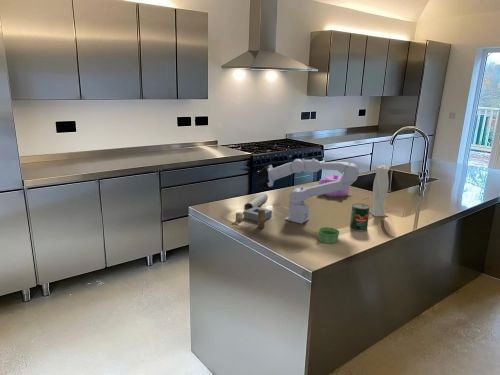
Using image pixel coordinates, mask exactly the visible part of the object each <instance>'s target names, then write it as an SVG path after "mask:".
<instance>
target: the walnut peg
mask: <svg viewBox="0 0 500 375" xmlns="http://www.w3.org/2000/svg"><path fill="white" fill-rule="evenodd" d="M265 223H266V220H265V210H258V222H257V228H258V229H265V227H266V226H265Z"/></svg>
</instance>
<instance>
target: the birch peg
mask: <svg viewBox="0 0 500 375" xmlns="http://www.w3.org/2000/svg"><path fill="white" fill-rule="evenodd" d="M243 218H244V212H240V211H238V212H236V213H235V222H236V221H237V223H242V222H243Z"/></svg>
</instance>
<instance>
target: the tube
mask: <svg viewBox="0 0 500 375" xmlns="http://www.w3.org/2000/svg"><path fill="white" fill-rule="evenodd" d="M268 198H269V197H268V194H267V193H265V192H262V193H261V194H259V195H258V196H256V197H254V198H253V199H252V200H250V201H249V202H246V203H245V204H244V206H243V207H244V211H246V210H248V209H251V208H253V207H259V206H261V205H262V204H263V203H265V202H266V201H268Z"/></svg>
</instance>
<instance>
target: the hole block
mask: <svg viewBox="0 0 500 375" xmlns="http://www.w3.org/2000/svg"><path fill="white" fill-rule="evenodd" d="M258 210H265V221H266V220H268V219H271V218H272V215H273V214H272V213H273V212H272V211H273V210H272V209H271V210H270V209H267V208H263V207H259V206H258V207H253V208H251V209H248V210H244V211H243V218H244V219H247V220H250V221H254V222H257V223H258Z"/></svg>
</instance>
